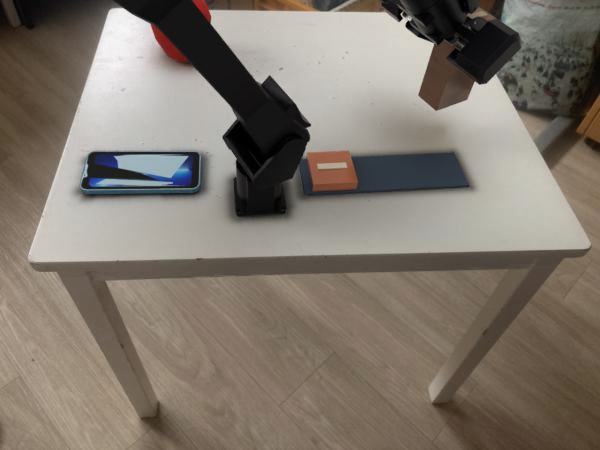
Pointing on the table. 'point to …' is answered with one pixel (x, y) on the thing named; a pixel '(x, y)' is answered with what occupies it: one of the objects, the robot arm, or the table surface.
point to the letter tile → (331, 171)
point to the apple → (167, 45)
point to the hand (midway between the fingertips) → (464, 54)
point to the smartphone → (141, 172)
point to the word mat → (398, 173)
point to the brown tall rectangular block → (447, 75)
